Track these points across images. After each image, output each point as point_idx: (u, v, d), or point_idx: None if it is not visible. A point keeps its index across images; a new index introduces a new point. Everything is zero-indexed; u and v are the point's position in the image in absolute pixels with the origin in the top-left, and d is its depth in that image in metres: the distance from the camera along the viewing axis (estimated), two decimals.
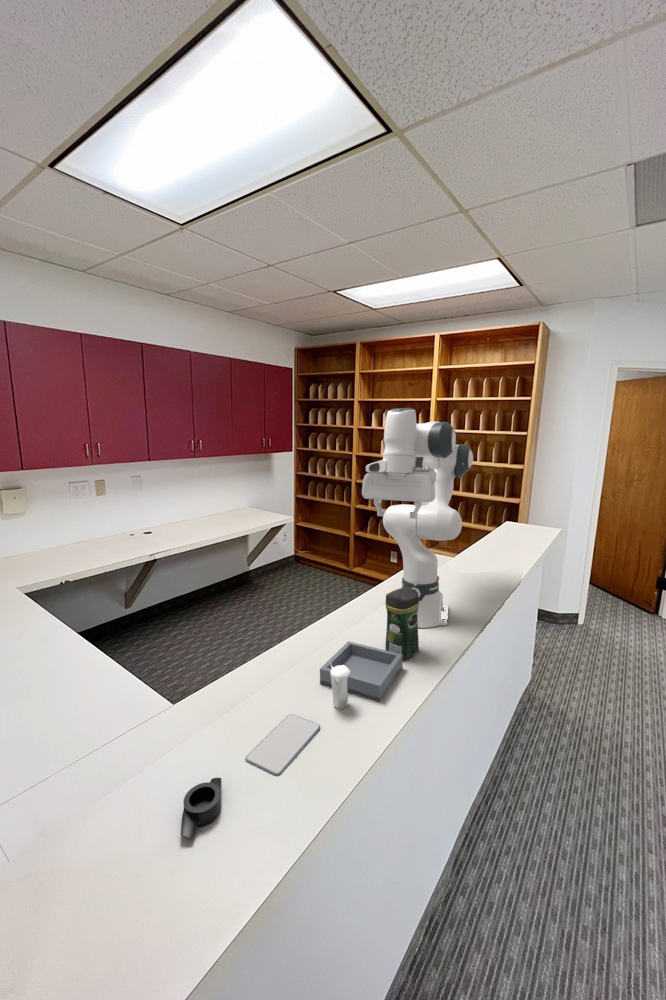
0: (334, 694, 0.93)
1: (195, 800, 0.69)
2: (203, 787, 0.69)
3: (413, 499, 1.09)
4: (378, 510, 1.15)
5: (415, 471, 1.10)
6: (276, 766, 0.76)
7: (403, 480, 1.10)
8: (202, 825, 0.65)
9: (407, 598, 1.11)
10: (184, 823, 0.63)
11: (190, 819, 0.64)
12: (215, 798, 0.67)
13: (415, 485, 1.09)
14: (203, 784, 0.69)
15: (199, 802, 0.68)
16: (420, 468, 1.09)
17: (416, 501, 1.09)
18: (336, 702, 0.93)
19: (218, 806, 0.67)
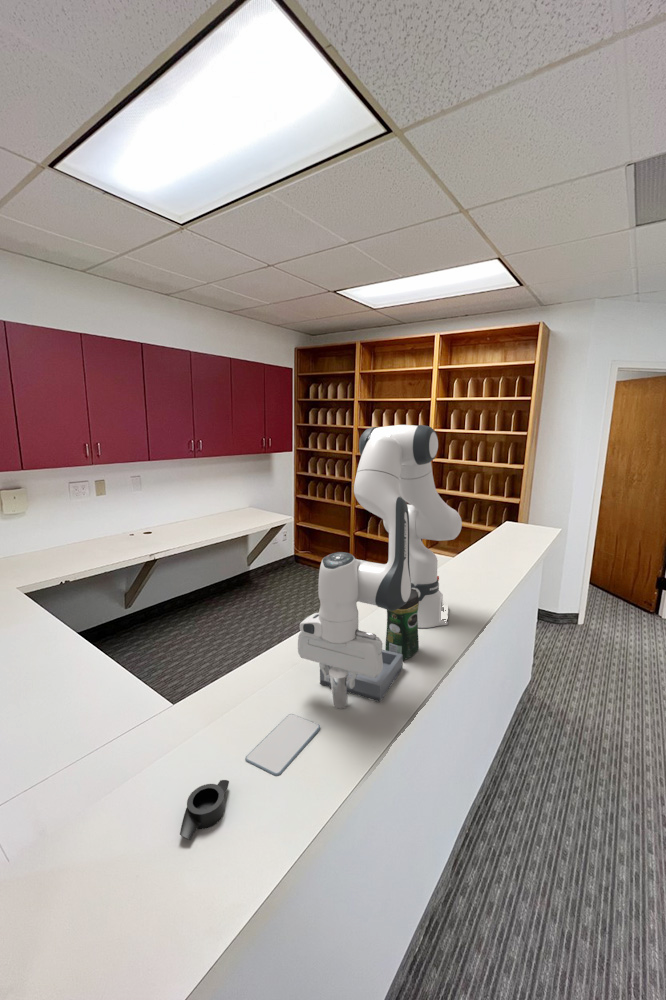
0: (333, 694, 0.93)
1: (200, 800, 0.69)
2: (208, 788, 0.69)
3: (356, 671, 0.89)
4: (325, 675, 0.94)
5: (357, 636, 0.89)
6: (275, 766, 0.76)
7: (343, 647, 0.90)
8: (202, 827, 0.64)
9: None
10: (184, 823, 0.63)
11: (191, 819, 0.64)
12: (217, 802, 0.66)
13: (357, 655, 0.89)
14: (209, 785, 0.69)
15: (204, 803, 0.68)
16: (363, 634, 0.89)
17: None
18: (336, 702, 0.93)
19: (220, 810, 0.66)
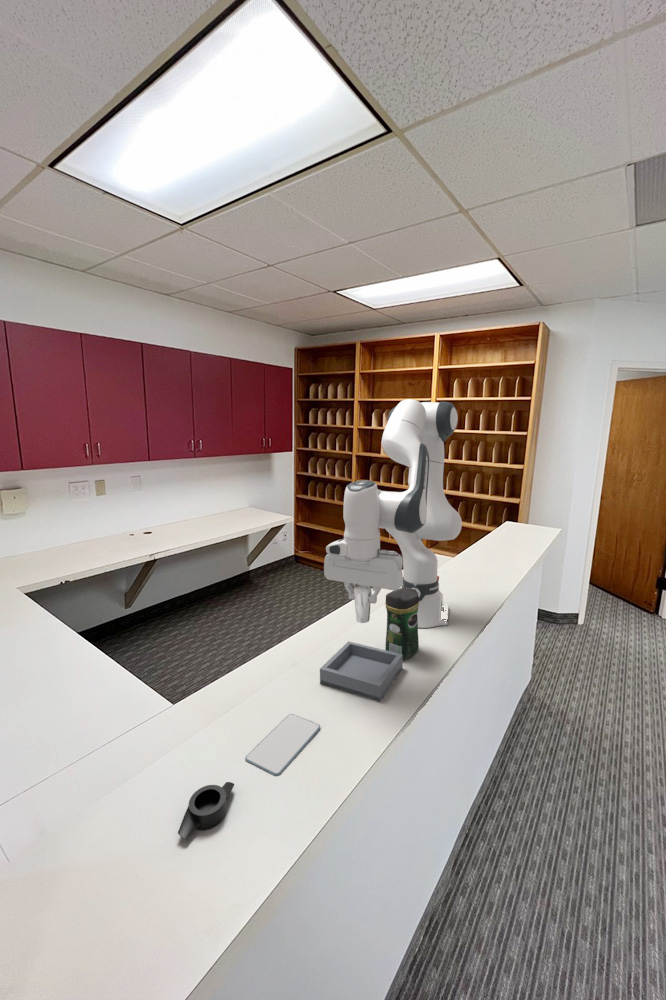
0: (357, 609, 1.02)
1: (204, 800, 0.68)
2: (212, 789, 0.69)
3: (378, 586, 0.98)
4: (350, 594, 1.04)
5: (379, 554, 0.98)
6: (275, 766, 0.76)
7: (367, 564, 0.99)
8: (201, 829, 0.64)
9: (407, 598, 1.11)
10: (183, 822, 0.64)
11: (190, 819, 0.64)
12: (218, 804, 0.66)
13: (380, 570, 0.98)
14: (213, 786, 0.69)
15: (207, 803, 0.68)
16: (385, 551, 0.98)
17: (382, 588, 0.98)
18: (359, 617, 1.02)
19: (220, 813, 0.65)
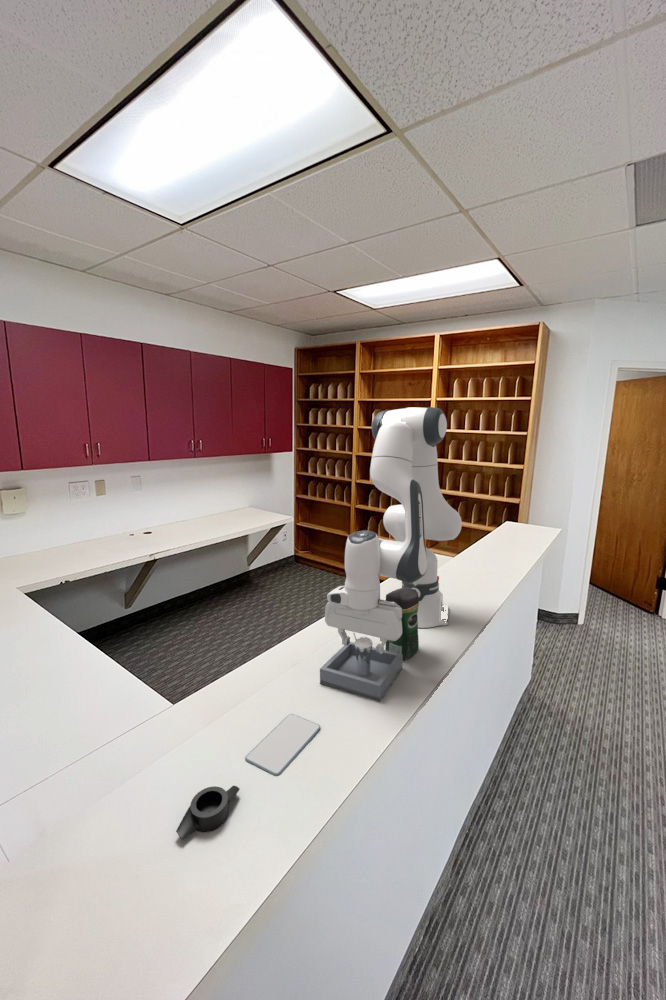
0: (358, 662, 1.04)
1: (208, 801, 0.68)
2: (216, 791, 0.68)
3: (378, 636, 1.00)
4: (343, 639, 1.06)
5: (379, 604, 1.00)
6: (275, 766, 0.76)
7: (367, 614, 1.01)
8: (200, 830, 0.64)
9: (407, 598, 1.11)
10: (183, 821, 0.64)
11: (190, 819, 0.64)
12: (218, 808, 0.65)
13: (379, 621, 1.00)
14: (217, 788, 0.69)
15: (210, 805, 0.68)
16: (385, 602, 1.00)
17: (381, 638, 1.00)
18: (361, 669, 1.04)
19: (219, 817, 0.64)
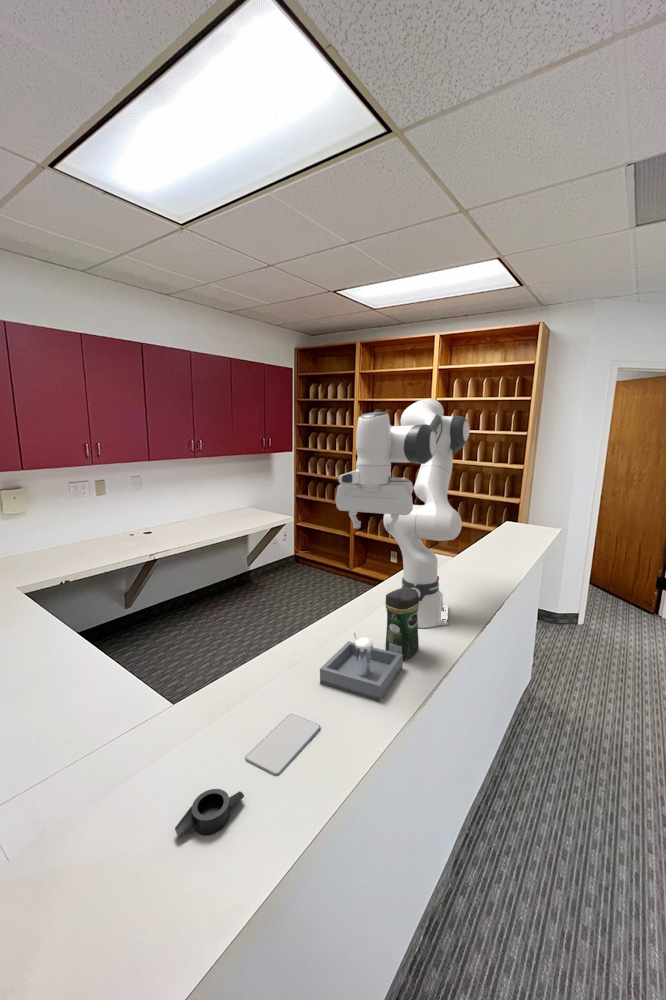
0: (359, 663, 1.04)
1: (212, 803, 0.68)
2: (219, 795, 0.68)
3: (389, 512, 1.02)
4: (354, 522, 1.08)
5: (390, 481, 1.02)
6: (275, 766, 0.76)
7: (378, 491, 1.03)
8: (198, 832, 0.64)
9: (407, 598, 1.11)
10: (183, 819, 0.64)
11: (190, 819, 0.64)
12: (216, 813, 0.64)
13: (390, 497, 1.02)
14: (222, 792, 0.68)
15: (214, 807, 0.67)
16: (396, 478, 1.02)
17: (392, 514, 1.02)
18: (361, 670, 1.04)
19: (217, 823, 0.64)
